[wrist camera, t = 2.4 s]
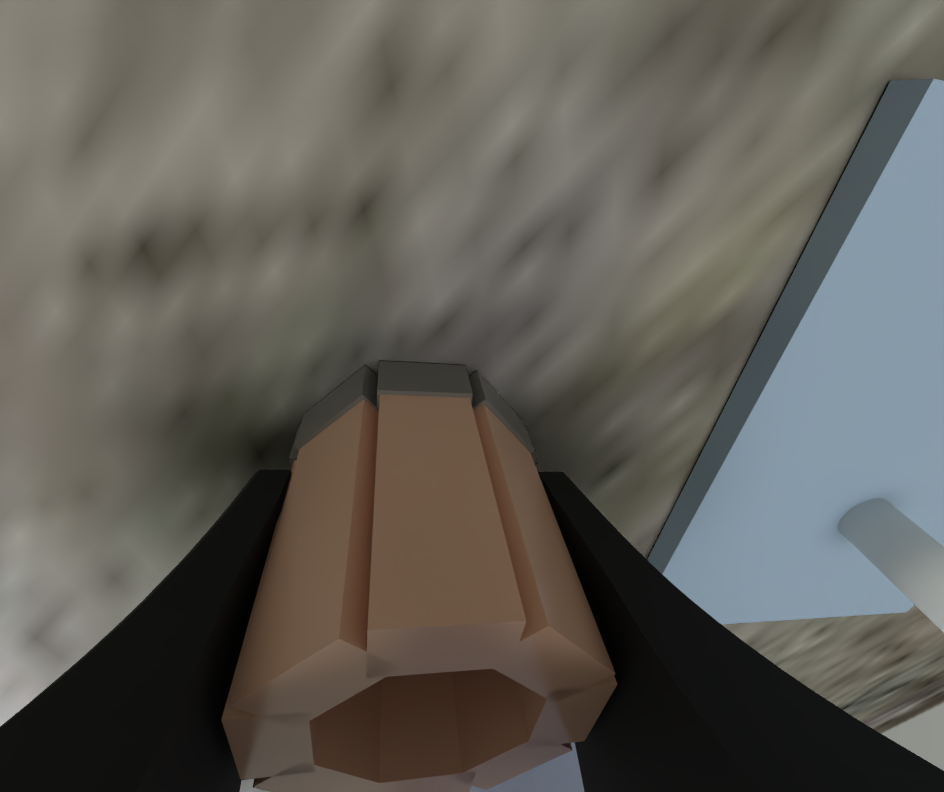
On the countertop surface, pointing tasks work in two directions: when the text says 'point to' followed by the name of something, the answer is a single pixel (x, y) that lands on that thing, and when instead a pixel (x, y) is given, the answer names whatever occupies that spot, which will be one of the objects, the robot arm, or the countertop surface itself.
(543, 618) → the sleeve
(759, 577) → the pin board
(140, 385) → the countertop surface
